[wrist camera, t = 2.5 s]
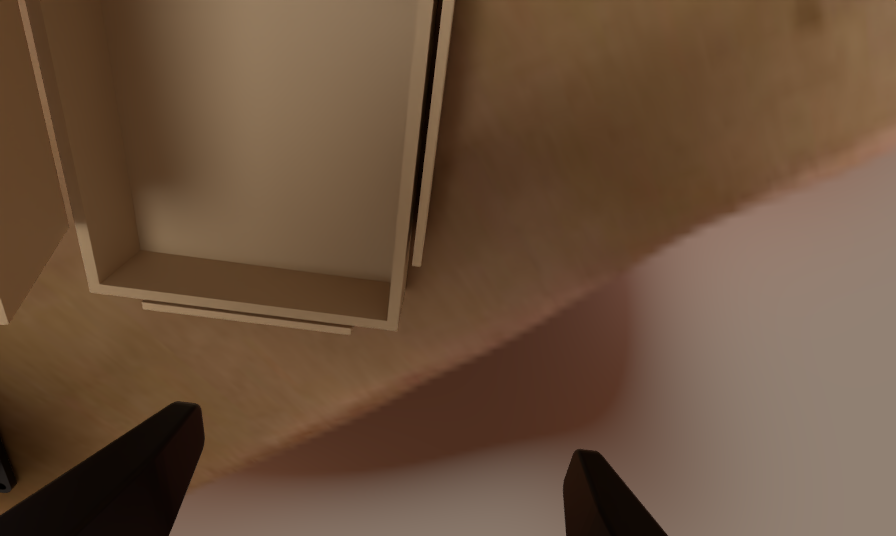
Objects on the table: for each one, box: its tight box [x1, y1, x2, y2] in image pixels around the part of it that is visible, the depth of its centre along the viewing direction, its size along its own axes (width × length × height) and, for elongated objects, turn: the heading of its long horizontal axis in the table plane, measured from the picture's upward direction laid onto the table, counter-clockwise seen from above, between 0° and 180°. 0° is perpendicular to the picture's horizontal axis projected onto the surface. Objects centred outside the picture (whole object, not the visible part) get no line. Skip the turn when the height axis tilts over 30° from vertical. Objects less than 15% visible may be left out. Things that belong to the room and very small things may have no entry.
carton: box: [25, 0, 455, 335], centre depth 17 cm, size 15×12×3 cm
